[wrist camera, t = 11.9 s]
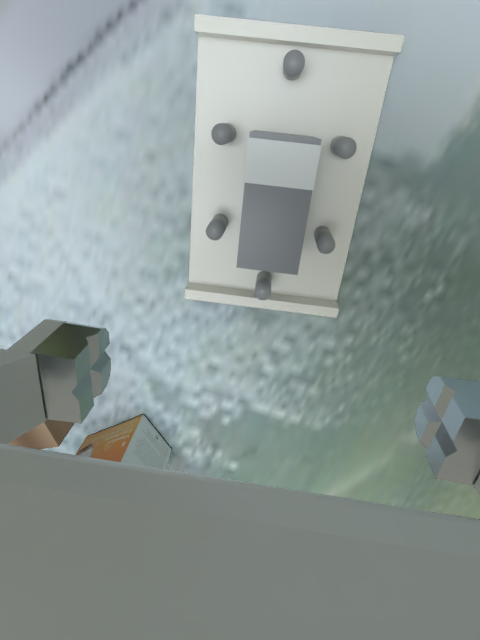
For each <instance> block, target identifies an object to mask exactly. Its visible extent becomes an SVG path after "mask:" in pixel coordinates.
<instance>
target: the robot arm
mask: <svg viewBox="0 0 480 640" xmlns="http://www.w3.org/2000/svg"><path fill="white" fill-rule="evenodd" d="M109 344H110V341H109V332H108V331H107V329H106V328H102V327H96V326H90V325H84V324H78V323H72V322H66V321H60V320H52V319H45V320H43V321H42V322H41V323H40V324H38V325H37V326H36V327H35V328H33V329H32V330H31V331H30V332H28V333H27V334H26V335H25V336H23V337H22V338H21V339H20V340H18V341H17V342H16V343H15V344H13V345H12V346H11V347H10V348H9V349H7V350H4V349H0V640H480V519H475V518H468V517H462V516H456V515H449V514H443V513H437V512H431V511H424V510H418V509H412V508H405V507H399V506H393V505H386V504H380V503H374V502H368V501H361V500H355V499H349V498H342V497H336V496H330V495H323V494H317V493H311V492H304V491H298V490H292V489H285V488H279V487H273V486H267V485H260V484H254V483H248V482H241V481H235V480H229V479H223V478H216V477H210V476H204V475H197V474H191V473H185V472H178V471H172V470H166V469H160V468H153V467H147V466H141V465H134V464H128V463H122V462H116V461H109V460H103V459H97V458H90V457H84V456H78V455H72V454H65V453H59V452H53V451H46V450H40V449H34V448H28V447H21V446H15V445H9V444H8V443H10V442H11V441H13V440H15V439H16V438H18V437H20V436H21V435H23V434H25V433H27V432H28V431H30V430H32V429H33V428H35V427H37V426H38V425H40V424H42V423H43V422H45V421H46V419H49V420H57V421H65V422H73V423H82V422H83V420H84V419H85V417H86V416H87V414H88V413H89V412H90V410H91V409H92V407H93V406H94V401H93V398H94V397H96V396H98V395H100V394H102V392H103V391H104V389H105V388H106V386H107V383H108V380H109V377H110V370H111V358H110V357H109V356H108V355H107V353H106V352H105V351H104V350H105V349H106V348H107V347H108V345H109ZM426 392H427V394H428V397H429V398H428V399H427V400H425V401H424V402H422V403H421V404H420V405H419V408H418V411H417V413H416V420H415V429H416V434H417V437H418V439H419V442H420V443H421V444H423V445H424V446H425V447H426V448H427V449H429V450H428V452H427V454H426V458H427V460H428V463H429V465H430V467H431V469H432V472H433V474H434V476H435V479H440V480H446V481H451V482H457V483H462V484H468V485H473V487H474V488H475V489H476V490H477V491H478V492H479V493H480V382H479V381H471V380H462V379H454V378H446V377H436V376H433V378H432V379H431V380H430V381H429V383H428V386H427V388H426Z"/></svg>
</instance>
